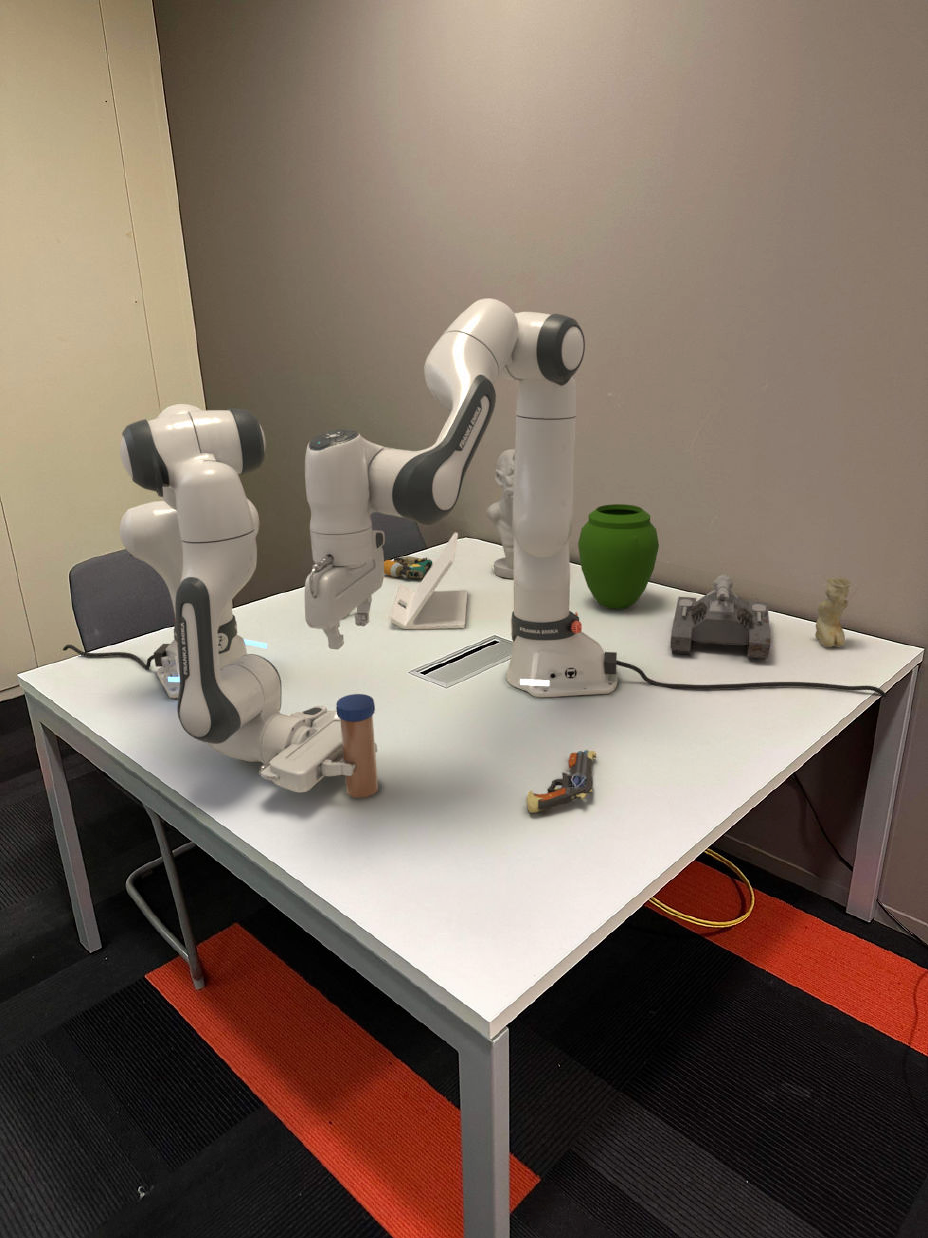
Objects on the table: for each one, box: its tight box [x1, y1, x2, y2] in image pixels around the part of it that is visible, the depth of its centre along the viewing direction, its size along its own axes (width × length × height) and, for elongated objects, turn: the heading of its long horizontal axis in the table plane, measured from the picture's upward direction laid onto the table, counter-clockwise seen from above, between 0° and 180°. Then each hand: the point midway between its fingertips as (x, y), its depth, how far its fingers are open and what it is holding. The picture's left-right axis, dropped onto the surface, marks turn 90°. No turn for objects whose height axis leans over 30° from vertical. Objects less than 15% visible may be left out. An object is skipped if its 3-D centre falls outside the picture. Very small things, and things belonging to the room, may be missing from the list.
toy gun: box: [526, 749, 597, 813], centre depth 136 cm, size 3×19×10 cm
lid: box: [335, 693, 376, 721], centre depth 132 cm, size 6×6×2 cm
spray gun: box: [384, 555, 433, 579], centre depth 244 cm, size 4×17×15 cm
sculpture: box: [814, 576, 852, 648], centre depth 185 cm, size 6×7×15 cm
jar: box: [340, 714, 379, 799], centre depth 134 cm, size 5×5×15 cm
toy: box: [670, 574, 771, 660], centre depth 189 cm, size 25×20×15 cm
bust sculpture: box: [485, 448, 515, 579], centre depth 231 cm, size 16×24×35 cm
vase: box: [577, 503, 660, 610], centre depth 210 cm, size 20×20×24 cm
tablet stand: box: [388, 531, 468, 630], centre depth 211 cm, size 18×25×17 cm
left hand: (364, 759), depth 135 cm, fingers closed on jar, 5 cm apart
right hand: (349, 635), depth 128 cm, fingers open, 8 cm apart
